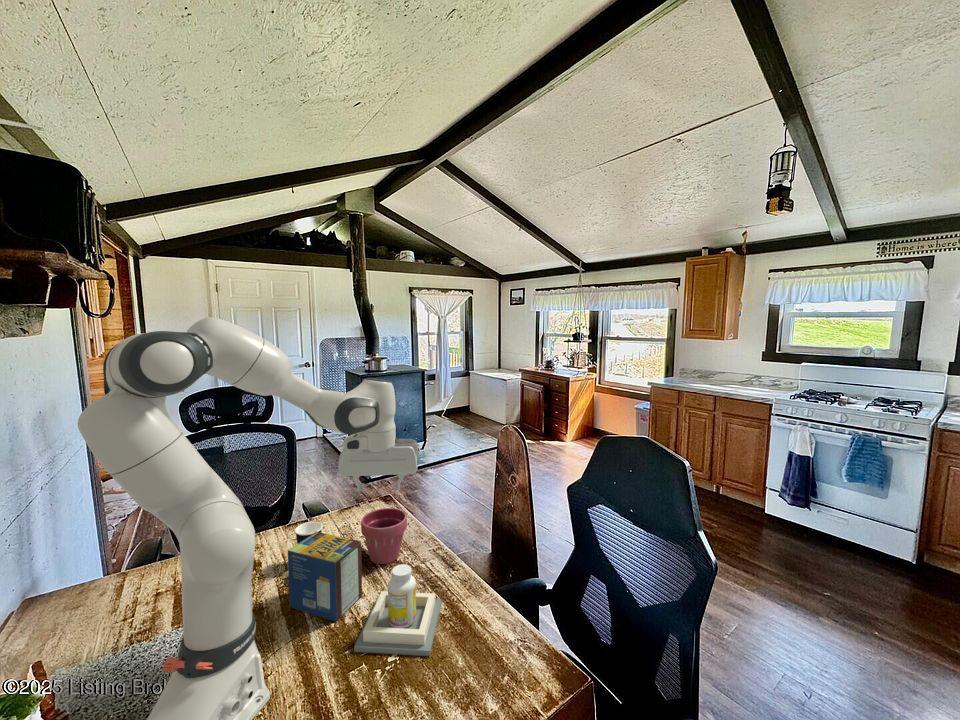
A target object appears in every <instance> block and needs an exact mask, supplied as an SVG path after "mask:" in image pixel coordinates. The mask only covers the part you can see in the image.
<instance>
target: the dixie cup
mask: <svg viewBox="0 0 960 720" xmlns="http://www.w3.org/2000/svg"><path fill="white" fill-rule="evenodd" d="M323 526H324V525H323V524H322V523H321V522H318V521H310V522H309V521H308V522H304V523H302V524H300V525H298V526H297V527H295V529H294V533H295V536H296V544H298V543H299V542H301V541H303V540H304V539H306V538H307V537H309V536H310V535H312V534H313V533H315V532H320V533H322V529H323Z"/></svg>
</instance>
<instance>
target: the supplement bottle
mask: <svg viewBox="0 0 960 720" xmlns="http://www.w3.org/2000/svg"><path fill="white" fill-rule="evenodd" d="M412 570H413V569H412V567H411V566H410V565H408V564H405V563H403V564H397V565H395V566H394V567H393V568H392V570H391V578H389V581H388V584H387V591H388V620H389V624H390V625H391V626H392V627H394V628H407V627H409V626H410V625H412V624H413V623H414V621H415V619H416V593H417V591H416V590H417V587H416V585H417V582H416V578H415V577H414V576H413V574H412Z"/></svg>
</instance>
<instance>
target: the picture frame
mask: <svg viewBox="0 0 960 720" xmlns="http://www.w3.org/2000/svg"><path fill="white" fill-rule="evenodd" d="M442 601H443V599H442V598H436V593H434V592H432V593H429V592H416V619H415V621H414V623H413V624H412V625H410V626H409V627H407V628H394V627H392V626H391V625H390V624H389V620H388V590H381V592H380V594H379V595H378V596H377V598H376V600H375V601H374V604H373V607H372V608H371V610H370V612H369V614H368V616H367V619H366V620H365V623H364V625H363V627H362V630H361V631H360V634H359V636H358V638H357V640H356V642H355V645H354V647H353V651H354V653H355V652H356V653H369V654H385V655H404V656H420V657H421V656H422V657H430V656H431V654H432V647H433V643H434V639H435V635H436V631H437V630H436V629H437V626H438V622H439V617H440V613H441V608H442V605H443V604H442Z"/></svg>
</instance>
